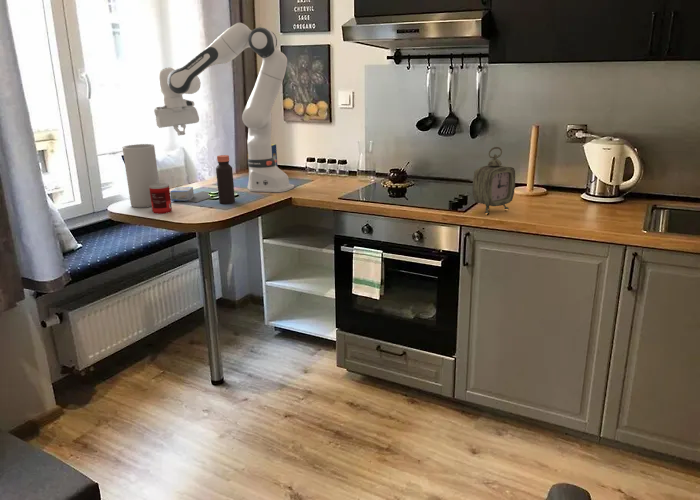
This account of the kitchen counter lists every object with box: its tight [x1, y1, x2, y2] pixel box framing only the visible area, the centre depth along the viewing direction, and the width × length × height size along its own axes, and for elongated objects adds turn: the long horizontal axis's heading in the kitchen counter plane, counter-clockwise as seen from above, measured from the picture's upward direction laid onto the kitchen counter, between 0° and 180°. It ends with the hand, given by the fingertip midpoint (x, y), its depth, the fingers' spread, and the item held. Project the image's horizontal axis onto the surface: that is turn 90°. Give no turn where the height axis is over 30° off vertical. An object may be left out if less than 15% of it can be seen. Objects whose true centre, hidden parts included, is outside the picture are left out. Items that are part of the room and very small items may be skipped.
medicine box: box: [170, 186, 195, 202], centre depth 252 cm, size 8×4×9 cm
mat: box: [186, 190, 212, 203], centre depth 257 cm, size 12×18×1 cm, turn 154°
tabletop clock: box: [472, 146, 516, 214], centre depth 216 cm, size 14×9×25 cm, turn 124°
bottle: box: [215, 154, 236, 205], centre depth 242 cm, size 7×7×20 cm
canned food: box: [149, 182, 173, 215], centre depth 231 cm, size 8×8×11 cm
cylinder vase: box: [122, 143, 160, 209], centre depth 241 cm, size 12×12×25 cm
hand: (181, 135), depth 264 cm, fingers closed
